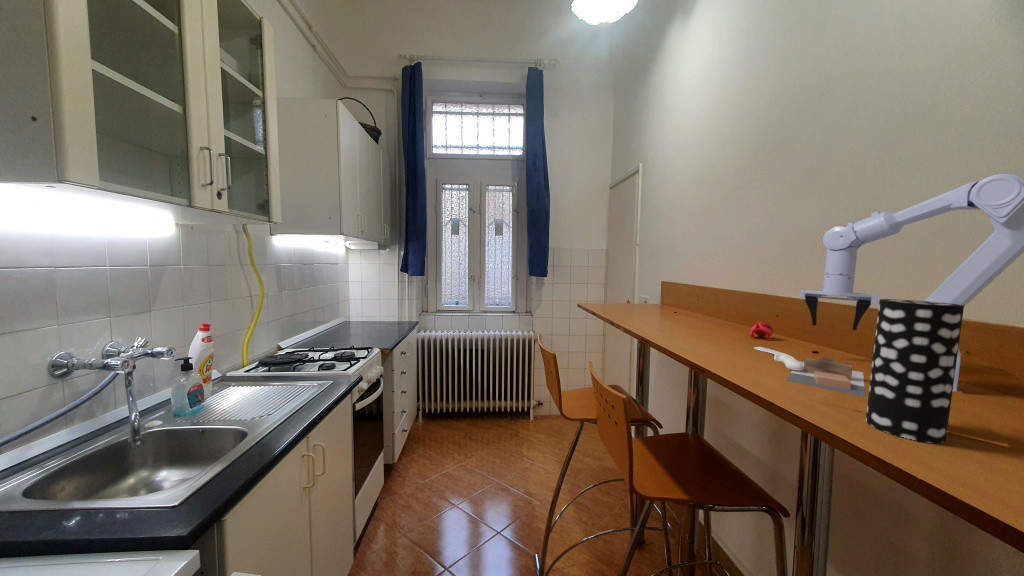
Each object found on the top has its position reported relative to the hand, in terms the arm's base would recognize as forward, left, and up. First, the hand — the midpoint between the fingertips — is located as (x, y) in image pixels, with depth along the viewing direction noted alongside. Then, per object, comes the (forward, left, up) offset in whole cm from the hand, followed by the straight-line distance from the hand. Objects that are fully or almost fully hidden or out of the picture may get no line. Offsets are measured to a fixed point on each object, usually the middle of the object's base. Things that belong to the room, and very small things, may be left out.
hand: (833, 327), depth 91 cm
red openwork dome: (+18, -21, -10) cm, 30 cm away
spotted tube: (-10, +42, -10) cm, 44 cm away
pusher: (0, +14, -9) cm, 17 cm away
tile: (-1, +24, -9) cm, 26 cm away
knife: (+12, +6, -9) cm, 16 cm away
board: (0, +18, -9) cm, 20 cm away
